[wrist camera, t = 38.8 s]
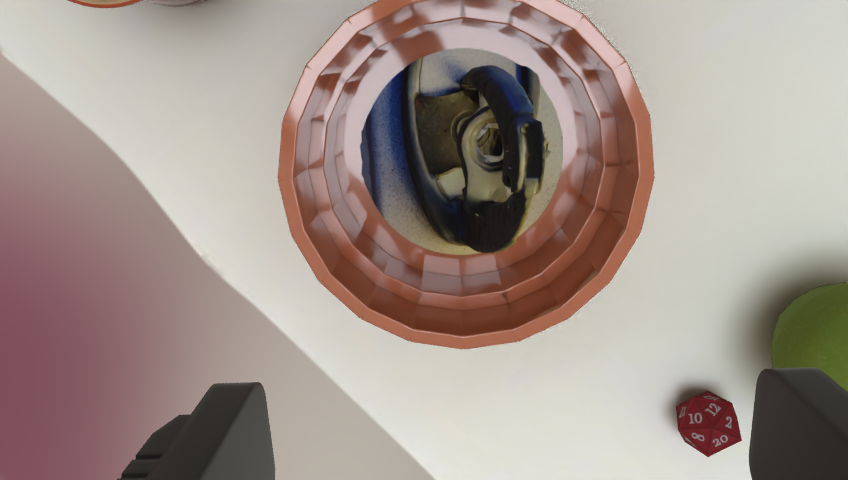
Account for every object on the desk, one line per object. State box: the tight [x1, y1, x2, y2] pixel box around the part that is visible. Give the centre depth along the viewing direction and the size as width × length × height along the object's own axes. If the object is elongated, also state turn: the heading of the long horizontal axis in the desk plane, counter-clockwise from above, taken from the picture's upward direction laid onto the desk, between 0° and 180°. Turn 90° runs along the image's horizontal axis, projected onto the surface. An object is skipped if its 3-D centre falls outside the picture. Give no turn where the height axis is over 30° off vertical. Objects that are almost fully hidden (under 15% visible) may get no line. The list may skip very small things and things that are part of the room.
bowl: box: [278, 0, 655, 349], centre depth 35 cm, size 19×19×8 cm
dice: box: [676, 391, 742, 457], centre depth 42 cm, size 4×4×4 cm
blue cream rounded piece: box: [360, 48, 563, 255], centre depth 32 cm, size 12×12×15 cm
